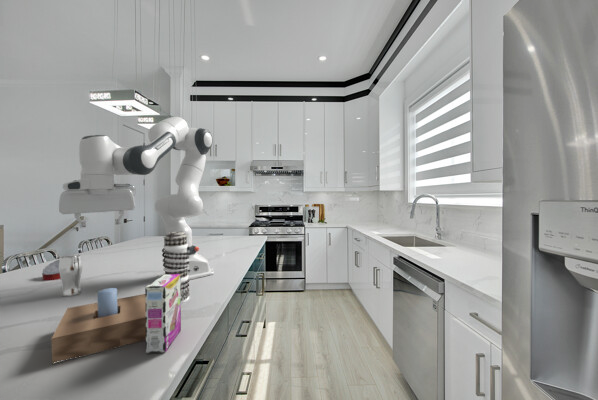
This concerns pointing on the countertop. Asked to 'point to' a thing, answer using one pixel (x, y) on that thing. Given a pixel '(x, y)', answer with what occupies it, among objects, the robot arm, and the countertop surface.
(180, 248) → the decorative candle
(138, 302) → the socket block
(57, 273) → the red base snow globe
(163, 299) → the candy bar box
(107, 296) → the peg
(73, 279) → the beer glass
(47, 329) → the countertop surface
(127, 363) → the countertop surface
